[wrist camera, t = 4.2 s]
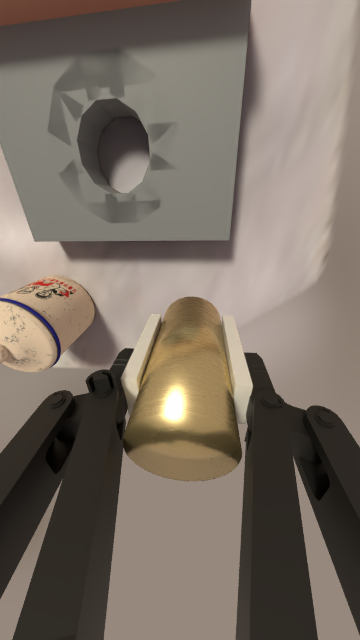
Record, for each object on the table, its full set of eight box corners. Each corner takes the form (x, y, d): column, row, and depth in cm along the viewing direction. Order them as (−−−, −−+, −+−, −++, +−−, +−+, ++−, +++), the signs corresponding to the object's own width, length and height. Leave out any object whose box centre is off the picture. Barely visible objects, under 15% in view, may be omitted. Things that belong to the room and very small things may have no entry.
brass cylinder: (165, 344, 18) (131, 475, 9) (162, 296, 16) (112, 409, 7) (218, 346, 17) (234, 486, 9) (222, 297, 15) (250, 419, 6)
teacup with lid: (86, 271, 26) (10, 313, 16) (104, 331, 30) (53, 393, 20) (5, 275, 28) (-112, 314, 17) (33, 331, 32) (-47, 388, 22)
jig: (56, 237, 24) (14, 245, 19) (-8, 25, 16) (-108, -59, 11) (226, 235, 22) (232, 244, 17) (247, -12, 14) (270, -139, 9)
